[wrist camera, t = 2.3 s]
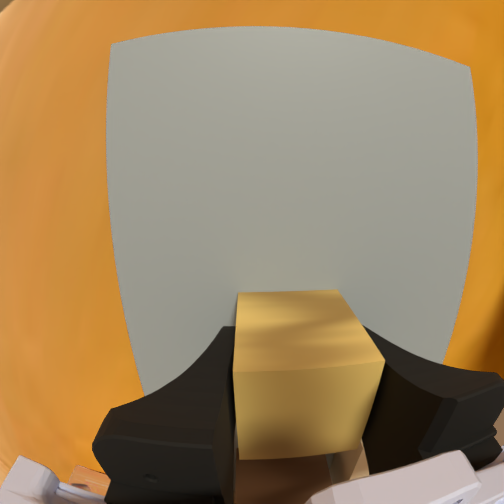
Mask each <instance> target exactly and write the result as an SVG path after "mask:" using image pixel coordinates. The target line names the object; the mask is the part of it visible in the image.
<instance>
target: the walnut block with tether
mask: <svg viewBox="0 0 504 504" xmlns="http://www.w3.org/2000/svg"><path fill="white" fill-rule="evenodd" d="M384 364H385V359H384V358H383V356H382V354H381V353H380V351H379V350H378V348H377V347H376V345H375V344H374V342H373V341H372V339H371V338H370V336H369V335H368V333H367V332H366V330H365V329H364V327H363V326H362V324H361V323H360V321H359V320H358V318H357V317H356V315H355V314H354V313H353V311H352V310H351V308H350V307H349V305H348V304H347V302H346V301H345V299H344V298H343V297H342V295H341V294H340V292H339V291H338V289H333V290H309V291H279V292H238V302H237V316H236V331H235V346H234V362H233V381H234V396H235V410H236V423H237V436H238V448H236V480H235V504H305V503H306V502H307V501H308V500H309V499H310V497H311V496H312V495H313V494H315V493H317V492H319V491H321V490H323V489H325V488H327V487H329V486H331V485H333V484H332V480H331V476H330V472H329V468H328V464H327V459H326V455H325V454H329V453H336V452H342V451H348V450H354V449H357V448H358V446H359V443H360V440H361V438H362V435H363V432H364V429H365V426H366V424H367V421H368V418H369V415H370V412H371V409H372V405H373V402H374V399H375V396H376V392H377V389H378V386H379V382H380V379H381V375H382V371H383V367H384Z"/></svg>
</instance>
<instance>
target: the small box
mask: <svg viewBox="0 0 504 504" xmlns="http://www.w3.org/2000/svg"><path fill="white" fill-rule="evenodd" d="M110 481H111V480H110V479H109V477H108V476H107V475H106V474H103V473H100V472H97V471H94V470H91V469H88V468H86V467H83V466H80V465H77V466H76V467H75V469H74V471H73V473H72V475H71V477H70V479H69V481H68V483H67V484H69V485H71V486H74V487H77V488H80V489H83V490H86V491H90V492H93V493H96V494H100V495H103V496H105V495H106V492H107V490H108V487H109V484H110Z"/></svg>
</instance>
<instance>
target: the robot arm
mask: <svg viewBox="0 0 504 504" xmlns="http://www.w3.org/2000/svg"><path fill="white" fill-rule="evenodd" d="M362 326H363V325H362ZM363 327H364V329H365V330H366V332H367V333H368V335H369V336H370V338H371V339H372V341H373V342H374V344H375V345H376V347H377V348H378V350H379V351H380V353H381V354H382V356H383V358H384V359H385V364H384V367H383V371H382V375H381V379H380V382H379V386H378V389H377V392H376V396H375V399H374V402H373V405H372V409H371V412H370V415H369V418H368V421H367V424H366V426H365V429H364V432H363V435H362V442H363V446H364V450H365V455H366V459H367V464H368V469H369V475H368V476H364V477H359V478H354V479H351V480H348V481H344V482H341V483H337V484H334V485H331V486H329V487H327V488H325V489H323V490H321V491H319V492H317V493H315V494H313V495H312V496H311V497H310V499H309V500H308V501H307V502H306V503H305V504H504V445H503V446H502V447H501V446H500V445H499V443H498V442H497V441H496V439H495V438H494V436H495V435H496V433H497V430H496V429H495V428H494V426H493V425H494V423H495V421H496V420H497V418H498V416H499V415H500V413H501V411H502V409H503V408H504V380H503V379H502V378H501V377H500V376H499V375H498V374H497V373H494V372H480V371H470V370H465V369H459V368H454V367H450V366H446V365H443V364H439V363H436V362H433V361H430V360H427V359H425V358H422V357H420V356H417V355H415V354H413V353H410V352H408V351H406V350H404V349H402V348H400V347H399V346H397V345H395V344H393V343H391V342H390V341H388V340H386V339H385V338H383V337H381V336H380V335H378V334H376V333H375V332H373V331H372V330H370V329H368V328H367V327H365V326H363ZM235 331H236V326H223V327H222V328H221V329H220V331H219V332H218V334H217V335H216V337H215V338H214V340H213V341H212V342H211V344H210V345H209V346H208V347H207V349H206V350H205V351H204V352H203V353H202V354H201V356H200V357H199V358H198V359H197V360H196V361H195V362H194V363H193V364H192V365H191V366H190V367H189V368H188V369H187V370H185V371H184V372H183V373H182V374H181V375H179V376H178V377H177V378H175V379H174V380H172V381H171V382H169V383H168V384H166V385H165V386H163V387H162V388H160V389H158V390H156V391H154V392H153V393H151V394H149V395H147V396H144V397H142V398H140V399H138V400H135V401H133V402H130V403H127V404H124V405H121V406H118V407H115V408H112V409H110V411H109V413H108V414H107V416H106V417H105V419H104V421H103V422H102V424H101V426H100V428H99V431H98V433H97V435H96V437H95V439H94V441H93V443H92V451H93V453H94V455H95V457H96V459H97V461H98V462H99V464H100V465H101V467H102V468H103V470H104V471H105V473H106V474H107V476H108V477H109V479H110V480H111V481H110V484H109V487H108V490H107V492H106V495H105V496H103V495H100V494H96V493H93V492H90V491H86V490H83V489H80V488H77V487H74V486H71V485H69V484H66V483H63V482H60V481H59V479H58V477H57V476H56V475H55V473H54V472H53V471H52V470H50V469H49V468H48V467H46V466H44V465H42V464H40V463H38V462H35V461H33V460H31V459H28V458H26V457H24V456H21V455H19V457H18V458H17V460H16V462H15V463H14V465H13V467H12V468H11V470H10V472H9V473H8V475H7V477H6V479H5V480H4V482H3V484H2V486H1V488H0V504H234V503H233V479H234V434H235V426H236V410H235V396H234V381H233V362H234V346H235Z"/></svg>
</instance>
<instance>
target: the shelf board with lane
mask: <svg viewBox="0 0 504 504" xmlns="http://www.w3.org/2000/svg"><path fill="white" fill-rule="evenodd" d="M106 157H107V182H108V198H109V210H110V221H111V231H112V240H113V248H114V256H115V263H116V269H117V276H118V282H119V288H120V294H121V299H122V305H123V310H124V315H125V320H126V324H127V329H128V333H129V338H130V342H131V346H132V351H133V355H134V359H135V362H136V366H137V370H138V374H139V377H140V381H141V384H142V388H143V391H144V395H145V396H147V395H149V394H151V393H153V392H154V391H156V390H158V389H160V388H162V387H163V386H165V385H166V384H168V383H169V382H171V381H172V380H174V379H175V378H177V377H178V376H179V375H181V374H182V373H183V372H184V371H185V370H187V369H188V368H189V367H190V366H191V365H192V364H193V363H194V362H195V361H196V360H197V359H198V358H199V357H200V356H201V354H202V353H203V352H204V351H205V350H206V349H207V347H208V346H209V345H210V344H211V342H212V341H213V340H214V338H215V337H216V335H217V334H218V332H219V331H220V329H221V328H222V327H223V326H236V316H237V302H238V292H279V291H309V290H333V289H338V291H339V292H340V294H341V295H342V297H343V298H344V299H345V301H346V302H347V304H348V305H349V307H350V308H351V310H352V311H353V313H354V314H355V315H356V317H357V318H358V320H359V321H360V323H361V324H362V325H363V326H365V327H367V328H368V329H370V330H372V331H373V332H375V333H376V334H378V335H380V336H381V337H383V338H385V339H386V340H388V341H390V342H391V343H393V344H395V345H397V346H399V347H400V348H402V349H404V350H406V351H408V352H410V353H413V354H415V355H417V356H420V357H422V358H425V359H427V360H430V361H433V362H436V363H439V364H442V363H443V360H444V357H445V354H446V351H447V348H448V345H449V342H450V339H451V335H452V332H453V328H454V325H455V321H456V318H457V314H458V310H459V306H460V302H461V298H462V293H463V289H464V284H465V279H466V274H467V269H468V263H469V257H470V251H471V244H472V237H473V229H474V219H475V209H476V195H477V167H478V151H477V125H476V111H475V100H474V92H473V84H472V77H471V70H470V67H468V66H465V65H463V64H460V63H458V62H455V61H452V60H449V59H447V58H444V57H441V56H438V55H435V54H432V53H429V52H425V51H422V50H419V49H415V48H412V47H408V46H404V45H401V44H397V43H392V42H388V41H384V40H379V39H375V38H370V37H364V36H359V35H353V34H347V33H340V32H333V31H325V30H316V29H305V28H291V27H266V26H245V27H219V28H205V29H194V30H185V31H177V32H170V33H163V34H157V35H151V36H146V37H141V38H136V39H131V40H126V41H122V42H118V43H114V44H111V52H110V62H109V74H108V89H107V113H106ZM236 448H238V436H237V423H236V426H235V434H234V479H233V503H234V504H235V480H236ZM325 455H326V459H327V464H328V468H329V472H330V476H331V480H332V484H333V485H334V484H337V483H341V482H344V481H348V480H351V479H354V478H359V477H364V476H368V475H369V469H368V464H367V459H366V455H365V450H364V446H363V442H362V438H361V440H360V443H359V446H358V448H357V449H354V450H348V451H342V452H336V453H329V454H325Z"/></svg>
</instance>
